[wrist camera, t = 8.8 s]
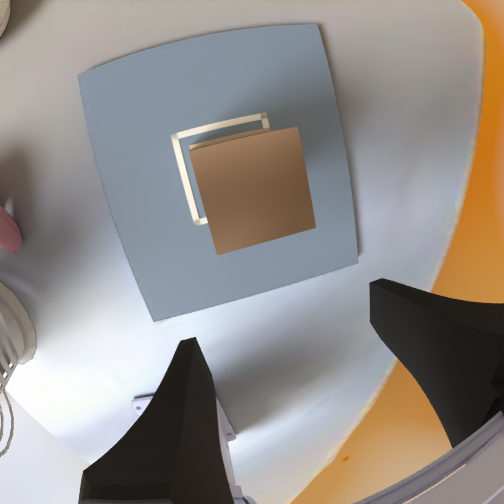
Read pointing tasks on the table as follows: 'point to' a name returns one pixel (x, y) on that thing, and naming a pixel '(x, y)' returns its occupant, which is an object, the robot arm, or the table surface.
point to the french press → (13, 343)
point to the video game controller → (9, 232)
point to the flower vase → (4, 14)
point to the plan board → (208, 128)
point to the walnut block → (254, 188)
